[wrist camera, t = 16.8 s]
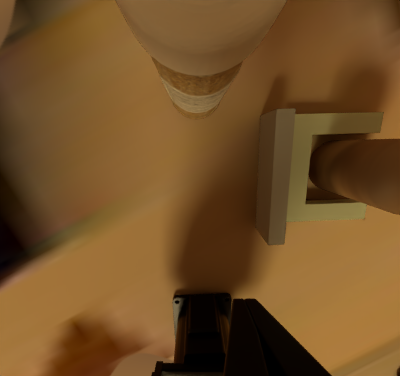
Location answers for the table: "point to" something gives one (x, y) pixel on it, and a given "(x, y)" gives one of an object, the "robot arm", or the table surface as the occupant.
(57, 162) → the table surface
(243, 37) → the sprinkles bottle
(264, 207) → the backstop wall
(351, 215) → the bracket
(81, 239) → the table surface
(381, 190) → the brown piece
